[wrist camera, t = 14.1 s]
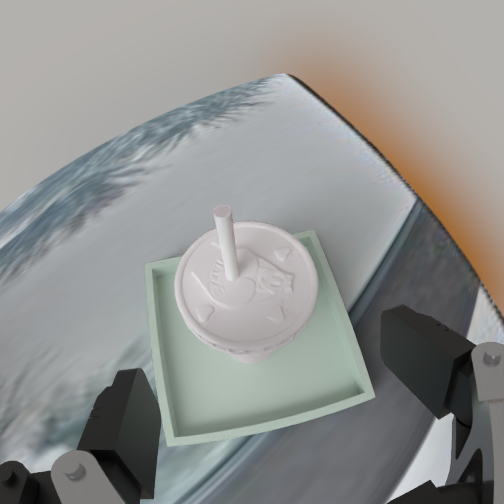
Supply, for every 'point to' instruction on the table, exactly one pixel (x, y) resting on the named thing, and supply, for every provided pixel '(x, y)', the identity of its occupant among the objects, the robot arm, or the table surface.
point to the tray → (252, 366)
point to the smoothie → (246, 287)
